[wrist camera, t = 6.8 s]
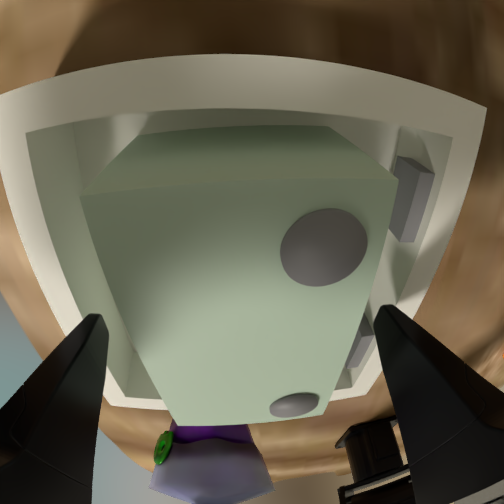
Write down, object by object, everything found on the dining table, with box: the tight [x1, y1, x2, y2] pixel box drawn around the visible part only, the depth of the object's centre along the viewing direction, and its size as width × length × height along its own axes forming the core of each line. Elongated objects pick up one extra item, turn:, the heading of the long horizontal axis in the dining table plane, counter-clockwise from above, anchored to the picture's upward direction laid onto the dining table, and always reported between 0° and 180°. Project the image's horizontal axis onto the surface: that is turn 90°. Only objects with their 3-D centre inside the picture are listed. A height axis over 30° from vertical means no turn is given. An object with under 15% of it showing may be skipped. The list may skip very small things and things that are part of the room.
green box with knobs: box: [79, 125, 399, 426], centre depth 10 cm, size 10×6×5 cm, turn 1°
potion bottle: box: [149, 419, 275, 504], centre depth 16 cm, size 9×9×12 cm
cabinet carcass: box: [0, 54, 487, 410], centre depth 11 cm, size 14×13×4 cm
